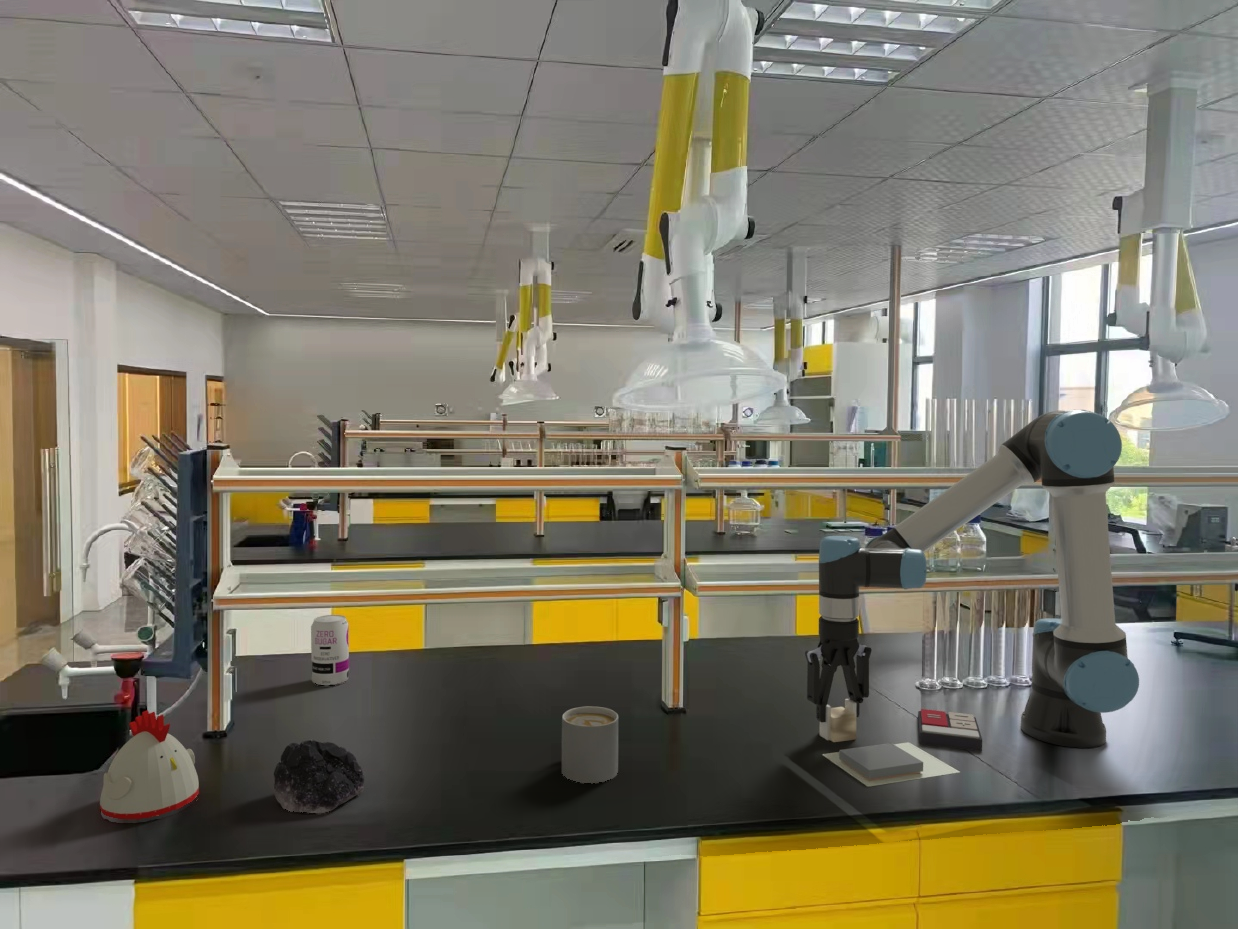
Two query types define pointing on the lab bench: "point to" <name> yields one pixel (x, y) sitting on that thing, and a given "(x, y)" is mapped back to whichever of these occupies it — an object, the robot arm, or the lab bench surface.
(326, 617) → the supplement can
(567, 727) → the coffee mug
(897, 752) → the tile
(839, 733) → the block
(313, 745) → the crystal cluster
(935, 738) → the calculator
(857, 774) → the board
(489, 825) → the lab bench surface
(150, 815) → the white chicken figure
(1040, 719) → the robot arm
